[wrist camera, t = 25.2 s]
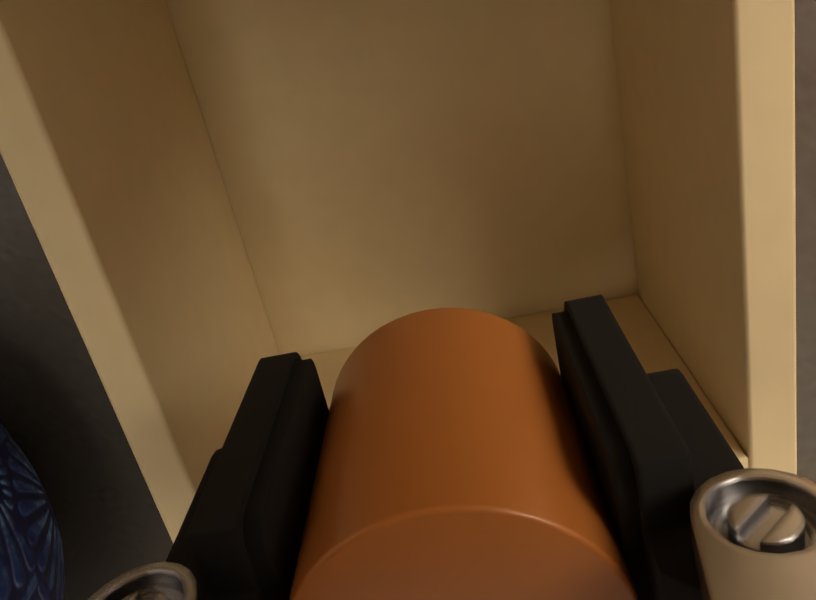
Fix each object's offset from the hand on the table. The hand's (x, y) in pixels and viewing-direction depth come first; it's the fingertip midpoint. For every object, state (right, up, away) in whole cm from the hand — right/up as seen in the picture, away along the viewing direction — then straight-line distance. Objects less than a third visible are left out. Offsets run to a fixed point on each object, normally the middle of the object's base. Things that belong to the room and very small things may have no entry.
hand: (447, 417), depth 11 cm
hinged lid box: (-1, +6, +7) cm, 9 cm away
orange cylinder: (0, 0, 0) cm, 0 cm away
